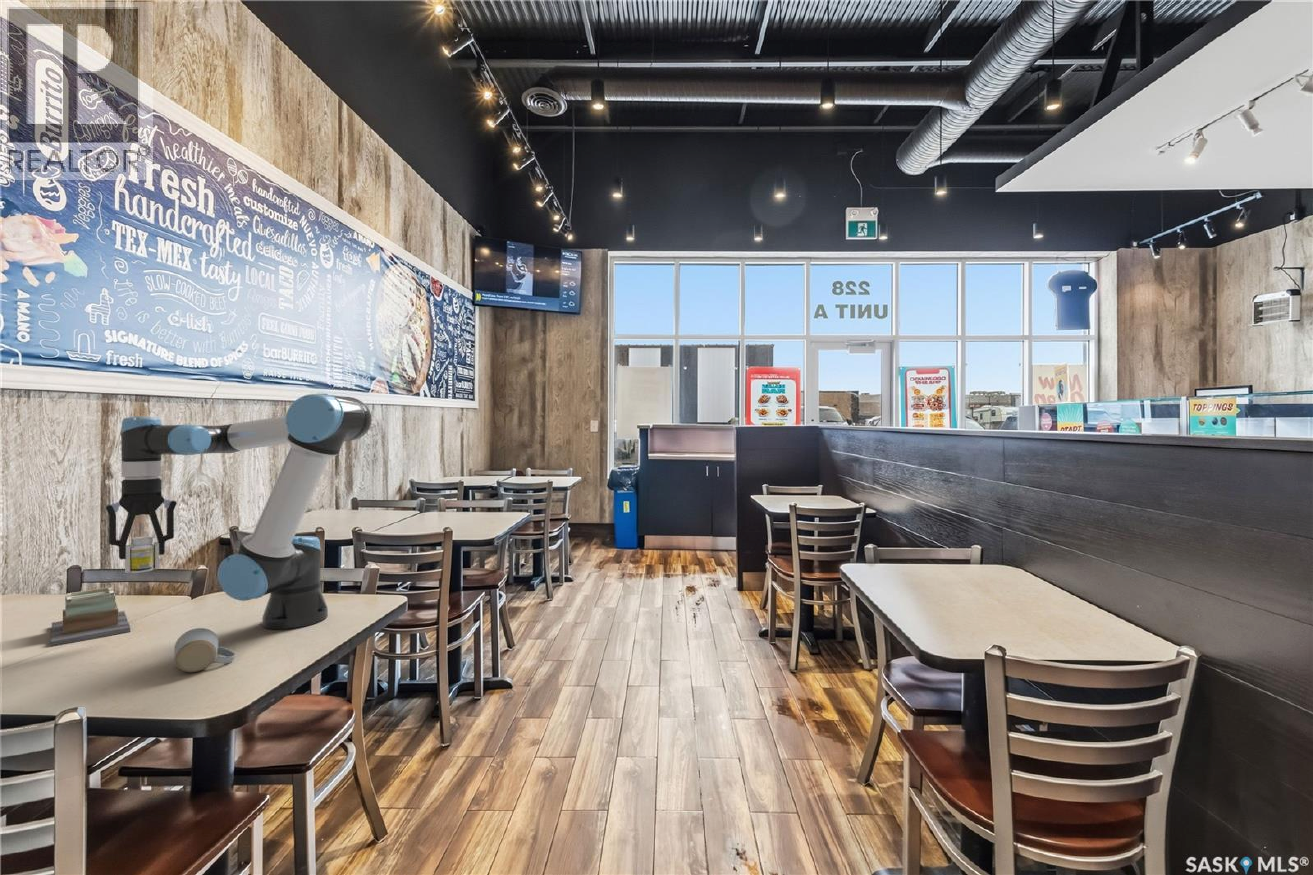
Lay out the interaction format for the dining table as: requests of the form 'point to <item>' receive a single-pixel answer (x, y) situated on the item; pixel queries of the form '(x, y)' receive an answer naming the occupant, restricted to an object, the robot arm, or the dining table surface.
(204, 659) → the ceramic mug
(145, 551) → the supplement bottle
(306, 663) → the dining table surface
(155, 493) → the robot arm
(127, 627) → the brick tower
